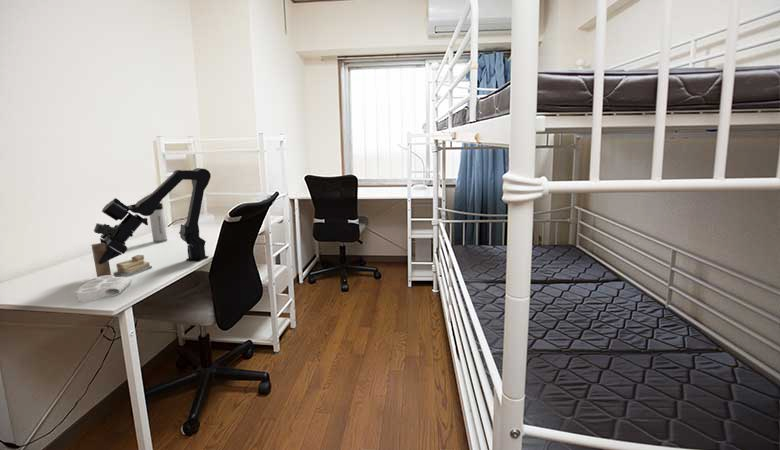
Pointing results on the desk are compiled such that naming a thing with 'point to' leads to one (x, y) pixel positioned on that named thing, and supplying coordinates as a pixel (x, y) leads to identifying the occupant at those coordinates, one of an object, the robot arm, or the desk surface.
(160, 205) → the travel mug
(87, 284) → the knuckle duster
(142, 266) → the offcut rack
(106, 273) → the walnut block
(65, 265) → the desk surface
